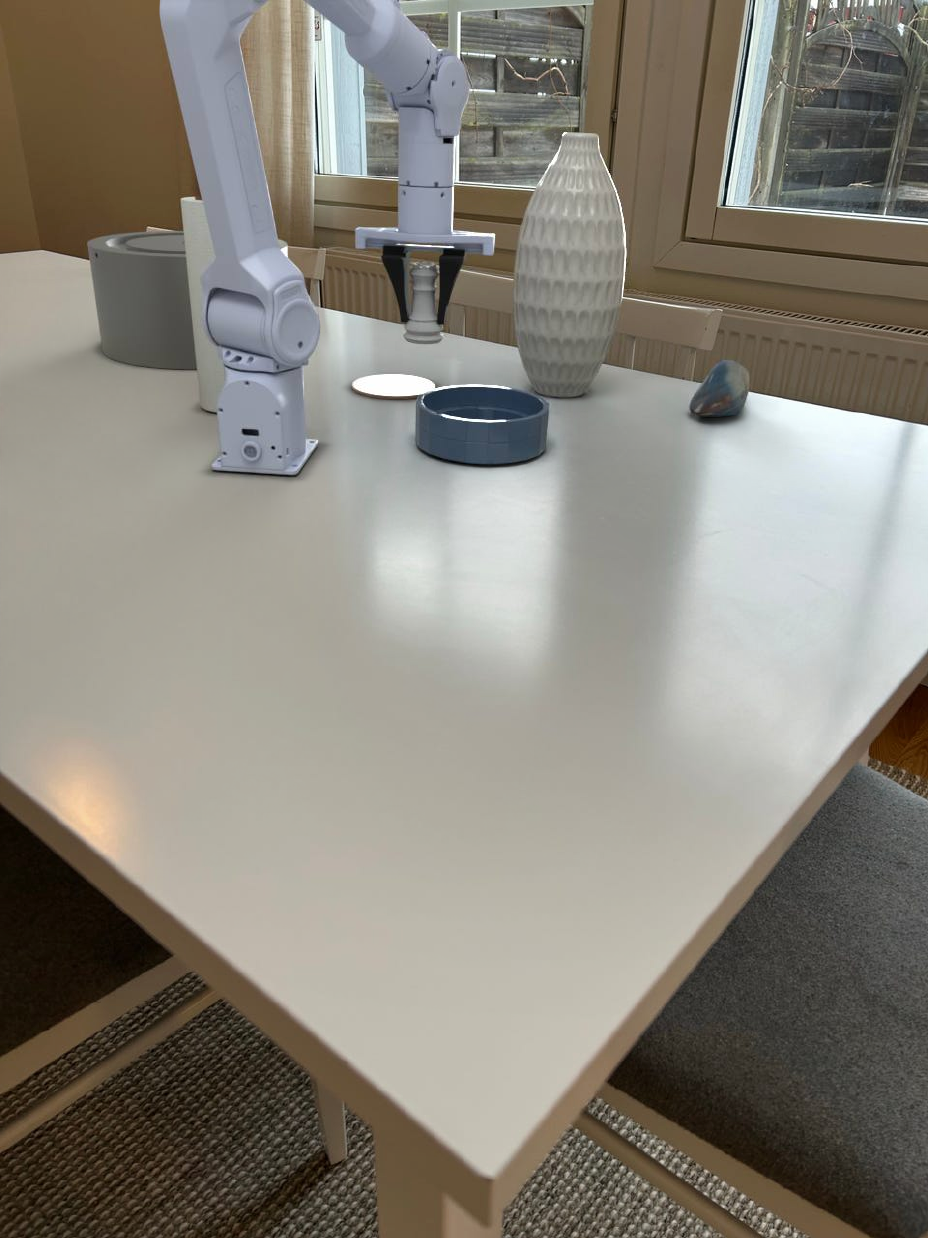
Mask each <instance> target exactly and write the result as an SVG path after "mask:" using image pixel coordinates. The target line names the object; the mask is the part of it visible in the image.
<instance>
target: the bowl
mask: <svg viewBox="0 0 928 1238" xmlns="http://www.w3.org/2000/svg"><path fill="white" fill-rule="evenodd" d="M549 415H550V403H549V402H548V401H547V400H546V399H545V398H544V397H542V396H539V395H538V394H535V393H533V392H530V391H527V390H522V389H518V388H514V387H513V388H512V387H506V386H500V385H488V384H486V385H485V384H459V385H449V386H441V387H437V388H435V389H433V390H429V391H426V392H425V393H423V394H421V395H419V396H418V398H416V400H415V423H414V424H415V426H414V427H415V429H414V431H415V432H414V434H415V435H414V437H415V438H414V441H415V442H416V445H417V446H418V448H419V449H421V450H422V451H424V452H425V453H427V454H429V455H432V456H435V457H438V458H440V459H443V460H448V461H452V462H455V463H461V464H462V463H463V464H471V465H484V466H485V465H505V464H512V463H513V464H514V463H518V462H522V461H527V460H530V459H532V458H535V457H538V456H540V455H541V454H542V453H544V452H545V451H546V450H547V441H548V428H549V418H550V417H549Z"/></svg>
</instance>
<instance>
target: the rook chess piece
mask: <svg viewBox="0 0 928 1238" xmlns="http://www.w3.org/2000/svg"><path fill="white" fill-rule="evenodd" d="M409 274H410V275H409V276H410V277H411V279H412V281H413V282H412V286H411V287H410V289H411V291H412V300H411V307H410V315H409V316H408V322H407V323H404V325H403V329H404V330H405V331H406V332H405V333H403V338H404V339H405V341H406V342H407V343H410V344H416V345H434V344H439V343H440V342H441V341H442V340H443V339H444V335H443V333H441V332H442V331H444V325H439V324H438V321H437V315H438V310H437V304H436V291H437V290H438V287H437V285H436V281H437V279H438V277H439V270H438V269H437V263H435V262H429V265H428V262H427V261H422V265H421V262H420V261H415V262H413V263H412V268H411V269H410V272H409Z"/></svg>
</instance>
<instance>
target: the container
mask: <svg viewBox="0 0 928 1238" xmlns="http://www.w3.org/2000/svg"><path fill="white" fill-rule="evenodd" d="M278 242H279V247H280V249H281V250H282V252H283V253H284V254H285V255H286V256H287V257H288V258H289V248H288V242H286V241H284V240H282V239H280V238H278ZM86 243H87V244H86V245H87V252H88V259H89V263H90V264H89V266H90V272H91V279H92V286H93V294H94V300H95V301H94V302H95V309H96V313H97V314H96V316H97V322H98V328H99V329H98V330H99V336H100V343H101V349H102V353H103V355H105V356H106V357H107V358H109V359H111V360H114V361H117V362H119V363H123V364H128V365H133V366H139V367H145V368H154V369H164V370H165V369H166V370H197V363H196V353H195V343H194V333H193V322H192V312H191V302H190V292H189V282H188V271H187V261H186V251H185V241H184V230H162V231H161V230H159V231H157V230H155V231H137V232H125V233H117V234H116V233H115V234H109V235H104V236H99V237H94V238H91V239H89V240H88V241H87V242H86Z"/></svg>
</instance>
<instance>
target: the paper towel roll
mask: <svg viewBox="0 0 928 1238" xmlns="http://www.w3.org/2000/svg"><path fill="white" fill-rule="evenodd" d="M180 210H181V218H182V229H183V230H182V231H184V241H185V251H186V261H187V271H188V282H189V292H190V302H191V312H192V322H193V333H194V343H195V353H196V363H197V369H196V372H197V382H198V393H199V403H200V407H201V408H202V409H203V410H204V411H208V412H212V413H217V400H218V396H219V394H220V392H221V391H222V389H223V387H224V385H225V379H224V367H223V364H224V363H223V360H221V359H219V358H218V347H216V346H215V345H214V344H212V343H211V341H210V340H209V339H208V337H207V336H206V334H205V331H204V328H203V324H202V306H203V289H202V284H201V280H200V276H201V274H202V273H203V272H204V270H205V269H206V268H207V267H208V266H209V265H210V264H211V262H212V261H213V260H214V259H215V258H216V256H215V252H214V248H213V243H212V239H211V235H210V231H209V226H208V222H207V218H206V214H205V209H204V205H203V201H202V197H201V195H195V196H186V197H185V196H184V197H181V198H180Z"/></svg>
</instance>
